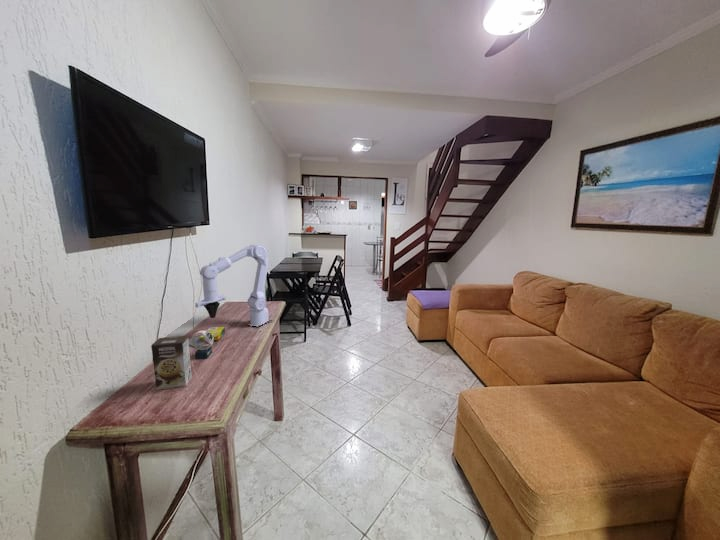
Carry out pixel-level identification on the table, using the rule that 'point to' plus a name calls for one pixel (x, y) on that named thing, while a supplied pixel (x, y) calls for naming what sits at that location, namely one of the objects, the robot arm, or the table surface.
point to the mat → (198, 341)
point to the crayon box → (215, 332)
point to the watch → (203, 351)
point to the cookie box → (171, 362)
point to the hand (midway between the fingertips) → (212, 317)
